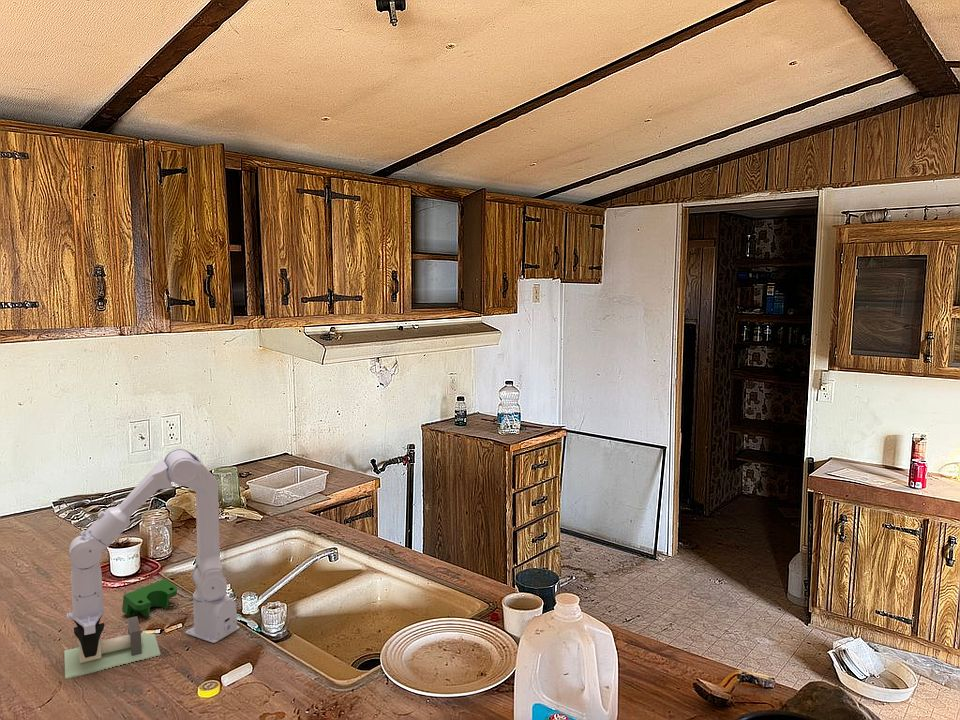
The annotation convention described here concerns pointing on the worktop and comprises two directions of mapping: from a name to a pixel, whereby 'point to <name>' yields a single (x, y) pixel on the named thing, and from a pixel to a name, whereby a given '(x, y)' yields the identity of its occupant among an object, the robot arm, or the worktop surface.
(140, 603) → the clamp
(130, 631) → the loop
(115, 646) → the cream mallet
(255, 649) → the worktop surface
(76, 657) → the mat
